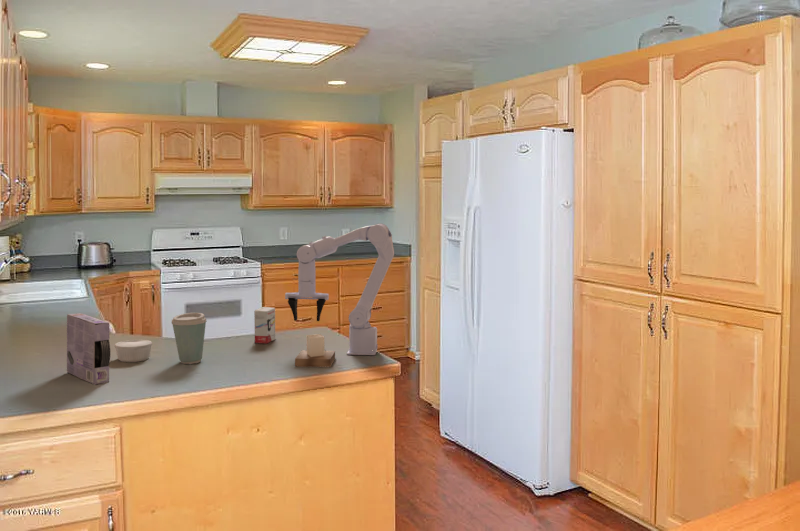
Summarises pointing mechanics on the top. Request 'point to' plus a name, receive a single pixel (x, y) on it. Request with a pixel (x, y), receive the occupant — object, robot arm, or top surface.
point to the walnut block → (314, 359)
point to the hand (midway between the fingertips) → (306, 320)
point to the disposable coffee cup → (189, 336)
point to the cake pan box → (88, 348)
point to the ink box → (264, 325)
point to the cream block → (315, 345)
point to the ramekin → (133, 350)
